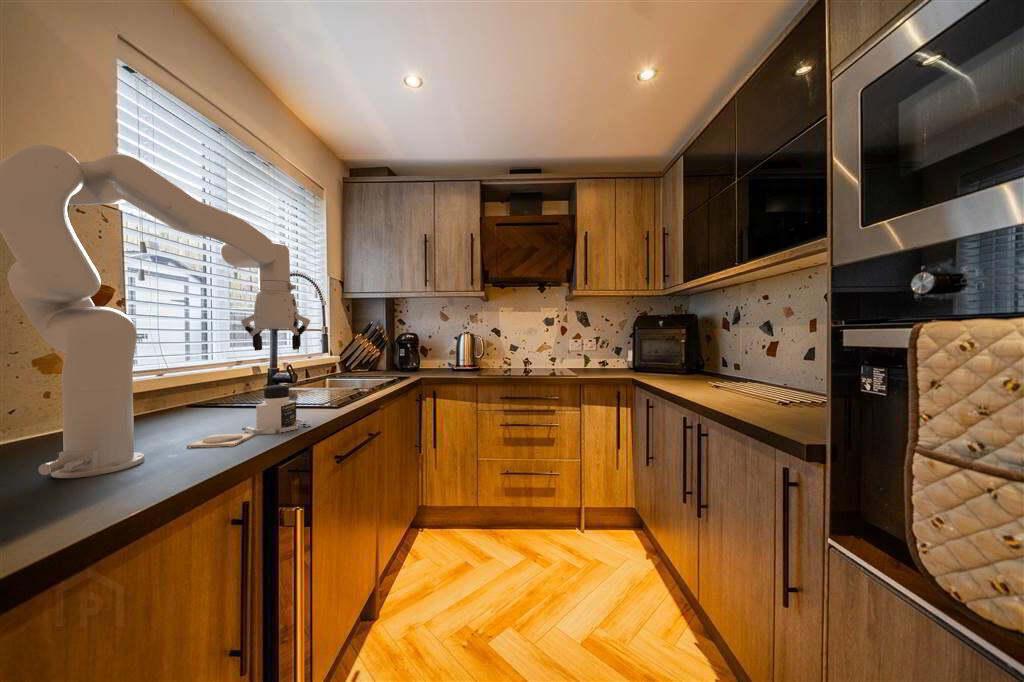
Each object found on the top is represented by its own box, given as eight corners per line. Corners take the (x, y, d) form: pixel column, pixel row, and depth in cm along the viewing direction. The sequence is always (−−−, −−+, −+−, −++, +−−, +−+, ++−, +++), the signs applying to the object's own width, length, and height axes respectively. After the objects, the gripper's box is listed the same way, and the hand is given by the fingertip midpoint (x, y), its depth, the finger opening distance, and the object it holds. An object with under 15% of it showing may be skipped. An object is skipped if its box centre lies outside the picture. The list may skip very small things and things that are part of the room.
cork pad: (234, 446, 91) (234, 443, 91) (186, 448, 90) (186, 445, 90) (255, 435, 101) (255, 432, 101) (212, 437, 100) (212, 434, 100)
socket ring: (300, 432, 104) (300, 428, 104) (229, 435, 101) (229, 430, 101) (317, 421, 118) (317, 417, 118) (255, 423, 115) (255, 419, 115)
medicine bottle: (281, 431, 106) (281, 387, 106) (255, 431, 106) (255, 387, 106) (296, 425, 113) (296, 383, 113) (272, 425, 113) (272, 383, 113)
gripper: (312, 290, 114) (314, 348, 115) (247, 289, 111) (249, 349, 112) (303, 287, 107) (305, 349, 107) (233, 287, 104) (236, 351, 104)
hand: (277, 349), depth 109 cm, fingers open, 9 cm apart
